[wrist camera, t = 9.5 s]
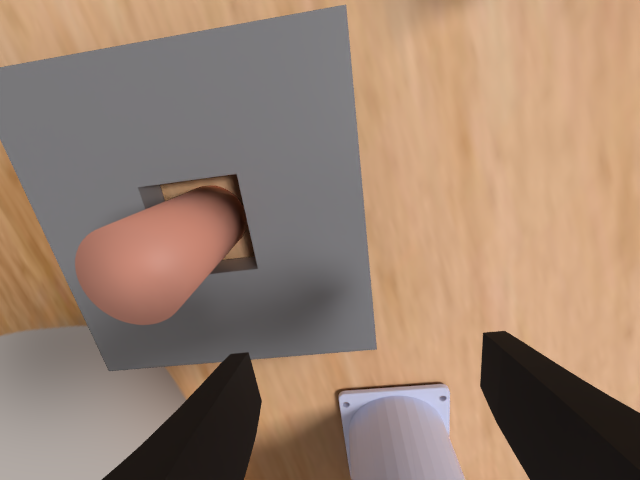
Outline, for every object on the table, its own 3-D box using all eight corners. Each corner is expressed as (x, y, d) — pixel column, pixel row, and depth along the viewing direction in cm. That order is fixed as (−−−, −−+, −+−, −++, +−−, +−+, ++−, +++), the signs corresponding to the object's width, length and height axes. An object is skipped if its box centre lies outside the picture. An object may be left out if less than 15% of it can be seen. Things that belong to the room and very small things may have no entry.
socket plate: (372, 329, 20) (376, 349, 19) (128, 350, 22) (108, 371, 20) (344, 21, 15) (345, 4, 13) (11, 80, 16) (-31, 72, 14)
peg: (252, 244, 19) (198, 320, 11) (192, 251, 19) (100, 329, 12) (238, 181, 17) (166, 218, 10) (173, 190, 18) (56, 232, 10)
